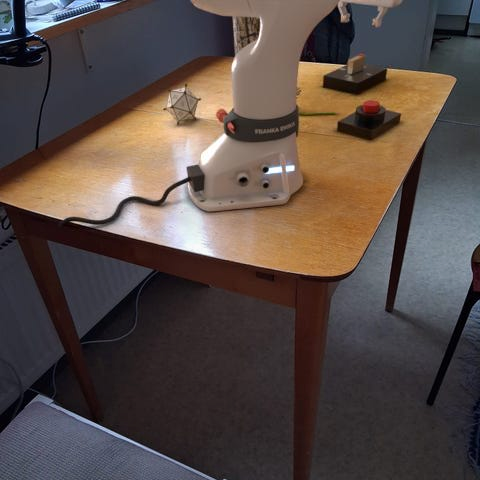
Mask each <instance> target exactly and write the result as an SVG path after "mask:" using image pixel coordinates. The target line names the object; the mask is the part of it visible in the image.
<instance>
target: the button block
mask: <svg viewBox="0 0 480 480" xmlns="http://www.w3.org/2000/svg"><path fill="white" fill-rule="evenodd" d="M362 109H363V104H360V105H358V106H357V107H355V111H354V112H352V113H350V114H349V115H347V116H345V117H343V118H341V119H339V120H337V125H336V126H337V127H336V131H337V132H339V133H342V134H346V135H350V136H354V137H356V138H360V139H363V140H367V141H372V140H374V139H376V138H377V137H379V136H380V135H383V134H385V133H386V132H387V131H389V130H391V129H392V128H394V127H396V126H397V125H399V124H400V122H401V117H402V113H401V112H397V111H394V110H388V109H386V107H385V106H383V105H379V111H378V112H375V113H367V112H363V111H362Z"/></svg>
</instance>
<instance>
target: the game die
mask: <svg viewBox="0 0 480 480" xmlns="http://www.w3.org/2000/svg"><path fill="white" fill-rule="evenodd" d="M166 90H167V92H168V97H167V101H166V107H164V108H163V109H162V111H167V112H168V113H169V114H170V115H171V116H172V117H173V118H174V119H175V120H176V124H177V126H179V125H180V122H183V121H187V120H190V119H193V120H197V117H196V116H195V115H196V111H197V108H198V105H199V104H198V103H199V101H201V100H202V98H201V97H199V98H197V96H196V95H195V94H194V93H193V92H192V90H190V89H189V88H188V83H185V84H184V86H183V87H179V88H175V89H171V88H167V89H166Z"/></svg>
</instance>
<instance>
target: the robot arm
mask: <svg viewBox="0 0 480 480" xmlns="http://www.w3.org/2000/svg"><path fill="white" fill-rule="evenodd" d="M189 1H190V3H191V4H192V5H193V6H194V7H196V8H197V9H199V10H203V11H205V12H208V13H211V14H215V15H218V16H222V17H233V16H237V17H257V18H260V33H259V37H258V39H257V40H255V41H253V42H251V43H250V44H248V45H247V46H245V47H244V48H242V49H241V50H240V51H239V52H238V53H237V54H236V56H235V55H234V58H233V60H232V63H231V67H230V73H231V74H230V76H231V90H232V91H231V92H232V105H233V107H232V108H231V110H230V111H229V112H227V111H226V109H224V108H219V109H218V110H217V111H216V114H215V117H216V119H217V120H218V122H219V123H221V124H223V132H222V133H221V134H220V135H219V136H218V137H217V138H215V140H214V141H213V142H212V143H211V144H209V146H208V147H206V148H205V149H204V150H203V151H202V152H201V154H200V155H199V158H198V163H197V164H194V165H187V166H185V167H186V175H187V177H185V178H182V179H180V180H179V181H176V182H174V183H173V184H171V185H170V186H168V187H167V188H166V189H165V191H164V193H163V194H162V196H161V198H159V199H158V200H151V199H148V198H145V197H143V196H140V195H139V196H138V195H135V196H134V195H132V196H128V197H125V198H124V199H122V200H121V201H120V202H119V203H118V205H117V206H116V208H115V210H114V213H112V215H111V216H109V217H107V218H104V219H90V218H86V217H82V216H81V217H80V216H68V217H65V218H64V219H62V220H61V221H60V223H58V225H57V227H58V228H63V227H65V225H67V224H68V223H71V222H77V223H83V224H87V225H93V226H95V225H96V226H101V225H102V226H103V225H107V224H110V223H111V222H113V221H115V220H116V219H117V218H118V217H119V215H120V214H121V212H122V209H123V207H124V206H125V205H126V204H127V203H130V202H134V201H135V202H136V201H137V202H141V203H144V204H146V205H150V206H160V205H162V204H163V203H165V201H166V200H167V198H168V196H169V194H170V193H171V192H172V191H173V190H175V189H177V188H178V187H181V186H182V185H186V184H187V192H188V195H189V198H190V199H191V201H192V202H193V204H194V205H195V206H197V208H199V209H201V210H203V211H205V212H219V211H221V212H222V211H230V210H239V209H241V210H242V209H249V208H259V207H261V208H262V207H269V206H280V205H284V204H287V203H288V202H289V200H290V198H291V196H292V195H294V194H295V193H296V192H297V191H298V190H300V188H301V187H302V186H303V184H304V177H303V174H302V170H301V166H300V159H299V153H298V139H297V138H298V136H299V130H300V129H299V128H300V114H299V113H300V112H299V106H298V104H297V99H296V97H297V96H296V94H297V87H298V76H299V66H300V61H301V56H302V53H303V50H304V47H305V44H306V43H307V40H308V39H309V36H310V35H311V34H312V33H313V31H314V29H315V28H316V26H318V24H319V23H320V22H321V21H323V19H324V18H325V17H327V16H328V15H330V13H332V12H333V10H334V9H335V8H336V7H337V8H338V11H339V13H340V23H345V24H346V23H348V22H350V17H351V13H349V12H348V10H347V7H346V6H347V5H348V4H357V5H367V6H374V7H377V12H379V13H378V14H377V16H376V17H375V18H374V17H373V18H372V24H371V25H372V27H373V28H380V27H381V25H382V22H383V21H382V20H383V18H384V16H385V15H386V13H387V12H388V9H389V8H390V9H391V8H395V7H398V6H400V4H401V3H402V2H403V1H404V0H189ZM298 112H299V113H298ZM96 360H97V362H98V365H99V367H100V370H101V371H104V370H105V368H106V367H105V366H104V364H103V359H102V358H101V356H98V357H96Z"/></svg>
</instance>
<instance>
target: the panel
mask: <svg viewBox="0 0 480 480" xmlns="http://www.w3.org/2000/svg"><path fill="white" fill-rule="evenodd" d="M347 72H348V64H345V65H344V66H341V67H339V68H337V69H334V70H332V71H330V72H328V73H326V74H324V75H323V78H322V87H323V88H325V89H329V90H334V91H338V92H342V93H347V94H351V95H356V96H357V95H360V94H361V93H364V92H366V91H368V90H369V89H371V88H374V87H375V86H377V85H379V84H382V83H383V82H385V81H386V80H387V76H388V75H387V73H388V67H387V68H386V67H381V66H376V65H371V64H366V63H364V70H361V71H359V72H357V73H355V74H353V75H350V74H347Z"/></svg>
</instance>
